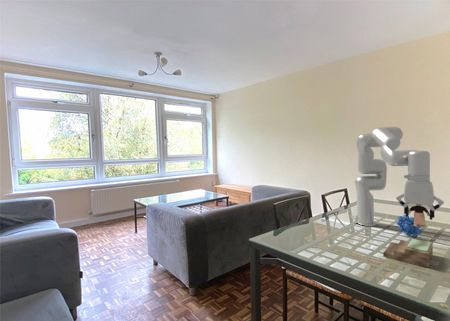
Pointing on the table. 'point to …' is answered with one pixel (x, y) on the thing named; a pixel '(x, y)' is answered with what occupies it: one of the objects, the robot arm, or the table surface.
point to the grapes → (408, 226)
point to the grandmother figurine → (419, 215)
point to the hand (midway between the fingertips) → (418, 217)
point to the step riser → (411, 252)
